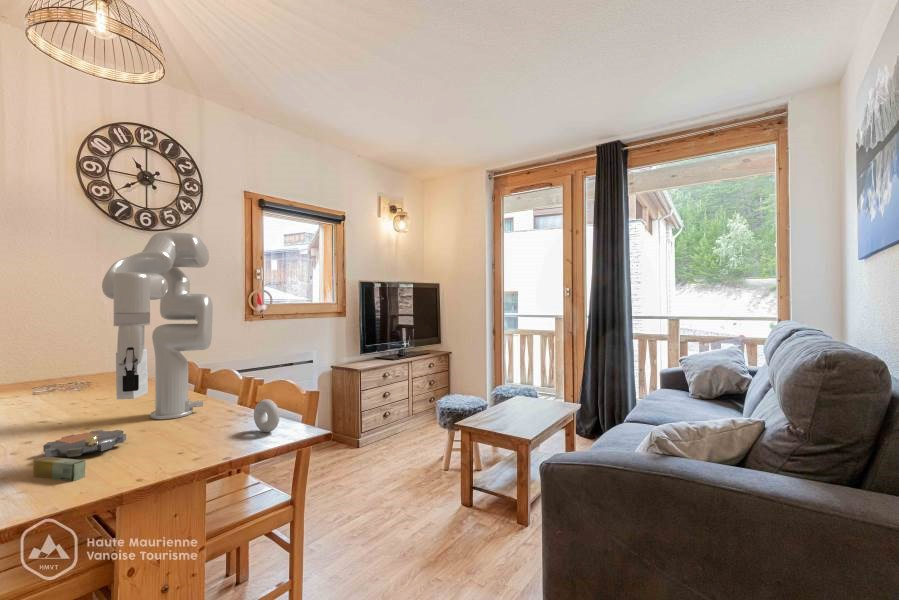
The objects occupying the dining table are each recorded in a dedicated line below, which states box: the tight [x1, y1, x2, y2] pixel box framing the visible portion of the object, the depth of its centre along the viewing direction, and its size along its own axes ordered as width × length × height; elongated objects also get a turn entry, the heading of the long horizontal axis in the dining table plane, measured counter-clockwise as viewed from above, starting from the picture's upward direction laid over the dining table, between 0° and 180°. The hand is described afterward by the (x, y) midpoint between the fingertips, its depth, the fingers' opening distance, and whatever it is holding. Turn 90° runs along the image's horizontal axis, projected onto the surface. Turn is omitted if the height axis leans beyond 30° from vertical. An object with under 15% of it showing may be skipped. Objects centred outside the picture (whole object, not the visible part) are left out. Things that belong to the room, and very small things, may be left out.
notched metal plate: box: [42, 429, 127, 458], centre depth 109 cm, size 16×16×4 cm
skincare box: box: [115, 348, 149, 400], centre depth 107 cm, size 6×4×12 cm
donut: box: [253, 398, 281, 433], centre depth 126 cm, size 10×4×10 cm, turn 60°
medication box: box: [32, 456, 87, 482], centre depth 94 cm, size 12×3×4 cm, turn 78°
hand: (132, 387), depth 107 cm, fingers closed on skincare box, 7 cm apart
